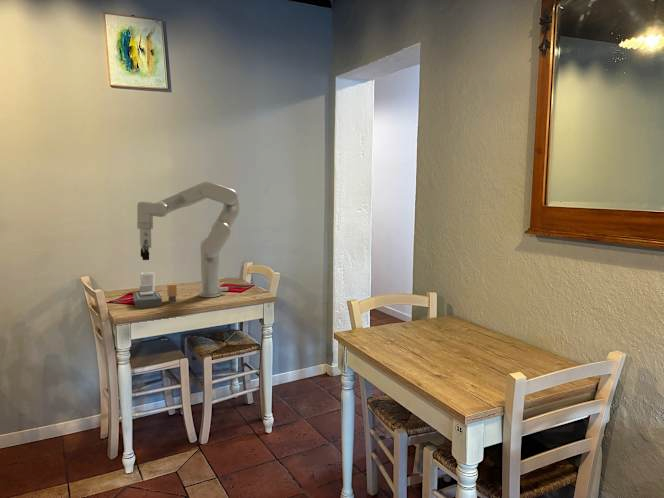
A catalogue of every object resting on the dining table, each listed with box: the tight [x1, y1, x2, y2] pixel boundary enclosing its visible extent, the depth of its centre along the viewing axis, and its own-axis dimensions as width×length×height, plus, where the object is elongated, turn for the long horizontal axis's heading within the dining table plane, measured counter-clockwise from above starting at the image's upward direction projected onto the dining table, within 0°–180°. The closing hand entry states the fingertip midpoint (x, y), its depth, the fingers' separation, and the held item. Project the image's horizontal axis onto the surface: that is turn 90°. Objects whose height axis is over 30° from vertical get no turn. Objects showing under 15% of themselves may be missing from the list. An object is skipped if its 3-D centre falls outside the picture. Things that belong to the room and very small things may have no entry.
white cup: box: [139, 271, 156, 291], centre depth 269 cm, size 8×8×10 cm
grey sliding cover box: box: [133, 290, 163, 310], centre depth 244 cm, size 12×16×5 cm
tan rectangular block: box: [166, 282, 178, 303], centre depth 249 cm, size 4×4×9 cm
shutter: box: [138, 284, 154, 296], centre depth 246 cm, size 6×6×4 cm
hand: (144, 258), depth 251 cm, fingers open, 9 cm apart
